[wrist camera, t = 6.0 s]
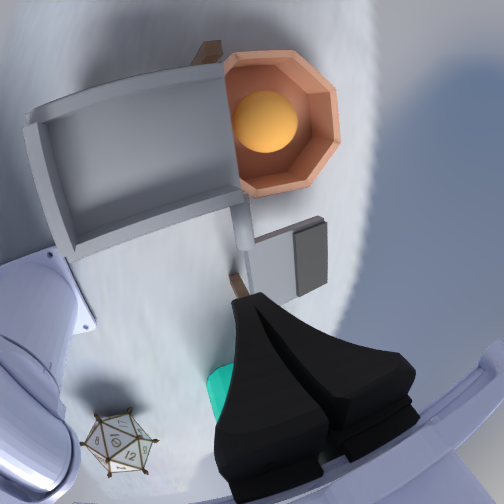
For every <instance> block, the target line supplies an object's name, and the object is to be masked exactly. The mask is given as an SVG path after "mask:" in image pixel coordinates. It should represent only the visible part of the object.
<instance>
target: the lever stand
mask: <svg viewBox="0 0 504 504" xmlns="http://www.w3.org/2000/svg"><path fill="white" fill-rule="evenodd" d="M222 55H223V53H222V47H221V40H216V41H207V42H203V44H202V46H201V47H200V49H199V51H198V53H197V54H196V56H195V58H194V60H193V62H192V64H191V66H193V65H201V64H210V63H215V62H216V61H217V60H218V59H219V58H220V57H221V56H222ZM229 279H230V283H231V286H232V288H233V290H234V292H235V295H236V297H237V299H238V298H242V297H245V296H248V295H250V294H249V292H248V291H247V289H246V287H245V285H244V283H243V281H242V279H241V277H240V276H239V274H234V275H231V276H229Z"/></svg>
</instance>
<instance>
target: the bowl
mask: <svg viewBox="0 0 504 504" xmlns="http://www.w3.org/2000/svg"><path fill="white" fill-rule="evenodd" d="M222 64H223V66H224V73H225V77H224V79H225V86H226V93H227V99H228V106H229V112H230V119H231V125H232V117H233V113H234V110H235V108H236V106H237V105H238V103H239V102H240V101H241V100H242V99H243V98H244V97H246V96H247V95H249V94H251V93H254V92H257V91H272V92H276V93H278V94H280V95H282V96H284V97H285V98H286V99H287V100H289V101H290V103H291V104H292V105H293V107H294V109H295V111H296V114H297V119H298V124H297V130H296V133H295V135H294V137H293V139H292V140H291V141H290V142H289V143H288V144H287V145H286V146H285V147H283V148H282V149H280V150H277V151H274V152H269V153H261V152H256V151H253V150H251V149H249V148H247V147H246V146H244V145H243V144H242V143H241V142H240V141H239V140H238V138H237V137H236V135H235V133H234V130H233V125H232V132H233V138H234V145H235V152H236V158H237V165H238V171H239V178H240V184H241V189H242V190H243V191H245V192H246V193H248V194H249V195H251V196H252V197H253V198H259V197H263V196H268V195H273V194H277V193H282V192H287V191H292V190H297V189H302V188H307V187H310V185H311V184H312V182H313V181H314V180H315V178H316V177H317V175H318V174H319V173H320V171H321V170H322V169H323V167H324V166H325V164H326V163H327V162H328V160H329V159H330V157H331V156H332V155H333V153H334V152H335V151H336V149H337V148H338V146H339V145H340V144H341V139H340V126H339V114H338V103H337V94H336V88H335V87H334V86H333V85H332V84H331V83H330V82H329V81H328V80H327V79H326V78H324V77H323V76H322V75H321V74H320V73H319V72H318V71H317V70H316V69H315V68H314V67H313V66H312V65H311V64H310V63H308V62H307V61H306V60H305V59H304V58H303V57H302V56H301V55H299V54H298V53H297V52H296V51H295V50H262V51H244V52H234V53H232V54H231V55H230V56H229V57H228V58H227V59H226V60H224V61H223V62H222Z"/></svg>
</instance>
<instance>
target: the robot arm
mask: <svg viewBox="0 0 504 504" xmlns="http://www.w3.org/2000/svg"><path fill="white" fill-rule="evenodd" d="M48 252H51V253H52V254H53V256H50V255H49V253H48ZM231 305H232V309H233V314H234V318H235V323H236V347H235V358H234V365H233V371H232V376H231V381H230V385H229V389H228V393H227V396H226V399H225V403H224V406H223V409H222V411H221V414H220V417H219V419H218V422H217V424H216V427H215V438H214V456H215V461H216V464H217V467H218V469H219V473H220V474H221V475H222V476H223V477H224V479H225V480H226V481H227V482H228V483H229V486H230V489H231V492H232V495H231V496H227V497H222V498H218V499H213V500H208V501H202V502H197V503H191V504H274V503H278V502H281V501H284V500H287V499H290V498H292V497H295V496H298V495H301V494H303V493H306V492H308V491H311V490H313V489H315V488H318V487H320V486H322V485H325V484H327V483H329V482H332V481H334V480H336V479H337V480H336V481H334V482H333V483H331V484H330V485H328V486H326V487H324V488H322V489H320V490H318V491H316V492H313V493H311V494H309V495H307V496H305V497H302V498H300V499H298V500H296V501H293V502H291V503H288V504H496V503H495V502H494V500H493V499H492V498H491V496H490V495H489V494H488V492H487V491H486V490H485V488H484V487H483V486H482V484H481V483H480V482H479V481H478V479H477V478H476V477H475V475H474V474H473V473H472V471H471V470H470V469H469V468H468V466H467V465H466V464H465V462H464V461H463V460H462V459H461V457H460V456H459V455H458V453H457V452H456V451H455V449H456V448H457V447H458V446H460V445H461V443H463V442H464V441H465V440H466V439H467V438H468V437H469V436H470V435H471V434H472V433H473V432H474V431H475V430H476V429H477V428H478V427H479V426H480V425H481V424H482V423H483V422H484V421H485V420H486V419H487V418H488V417H489V416H490V415H491V413H492V412H493V411H494V410H495V409H496V408H497V407H498V406H499V405H500V403H501V402H502V401H503V400H504V344H503V343H502V342H501V341H499V340H498V339H496V340H495V341H494V342H493V343H492V344H491V345H490V346H489V347H488V348H487V349H486V350H485V351H484V352H483V354H482V355H481V357H480V359H479V360H478V363H477V364H476V365H475V366H474V367H473V368H472V369H471V370H470V371H468V372H467V373H466V374H465V375H464V376H463V377H461V378H460V379H459V380H458V381H457V382H456V383H455V384H453V385H452V386H451V387H449V388H448V389H447V390H446V391H444V392H443V393H442V394H441V395H439V397H437V398H435V399H434V400H433V401H431V402H430V403H429V404H427V405H426V406H425V407H423V408H422V409H421V410H419V411H418V412H416V410H415V409H414V408H413V407H412V405H411V403H412V399H411V398H410V397H409V396H408V392H409V390H410V388H411V386H412V384H413V382H414V379H415V375H416V370H415V369H414V368H413V367H412V366H411V364H410V363H409V362H408V361H407V360H406V359H405V358H404V357H403V356H402V355H401V354H400V353H396V352H389V351H382V350H376V349H372V348H367V347H363V346H359V345H356V344H352V343H349V342H346V341H343V340H341V339H338V338H335V337H333V336H330V335H328V334H326V333H323V332H321V331H319V330H317V329H315V328H313V327H312V326H310V325H308V324H306V323H305V322H303V321H301V320H299V319H298V318H296V317H295V316H293V315H292V314H290V313H289V312H287V311H286V310H284V309H283V308H282V307H280V306H279V305H278V304H276V303H275V302H274V301H272V300H271V299H270V298H268V297H267V296H266V295H265V294H264V293H262V292H259V293H255V294H252V295H248V296H245V297H242V298H238V299H235V300H233V301H232V302H231ZM85 325H87V326H88V327H86V326H85ZM96 325H97V323H96V321H95V319H94V317H93V316H92V314H91V312H90V310H89V308H88V306H87V304H86V302H85V300H84V298H83V296H82V294H81V292H80V290H79V288H78V286H77V284H76V282H75V280H74V278H73V275H72V273H71V271H70V269H69V266H68V264H67V262H66V260H65V257H64V258H61V256H60V254H59V251H58V249H57V246H52V247H49V248H46V249H43V250H40V251H37V252H35V253H32V254H29V255H26V256H24V257H21V258H18V259H16V260H13V261H10V262H8V263H5V264H3V265H0V504H54V503H55V501H56V500H57V499H58V498H59V497H61V496H62V495H63V494H64V493H66V492H67V491H68V490H69V489H70V488H71V486H72V485H73V483H74V481H75V479H76V477H77V475H78V471H79V468H80V462H81V449H80V443H79V440H78V437H77V435H76V433H75V432H74V430H73V429H72V428H71V427H70V426H69V425H68V424H67V423H66V422H65V412H66V406H65V405H64V404H63V403H62V402H61V400H60V397H59V396H60V390H61V385H62V379H63V374H64V369H65V365H66V360H67V356H68V351H69V347H70V343H71V339H72V335H74V334H78V333H83V332H87V331H91V330H94V329H96ZM340 477H341V478H340ZM338 478H339V479H338ZM73 504H93V503H75V502H74V503H73Z"/></svg>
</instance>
